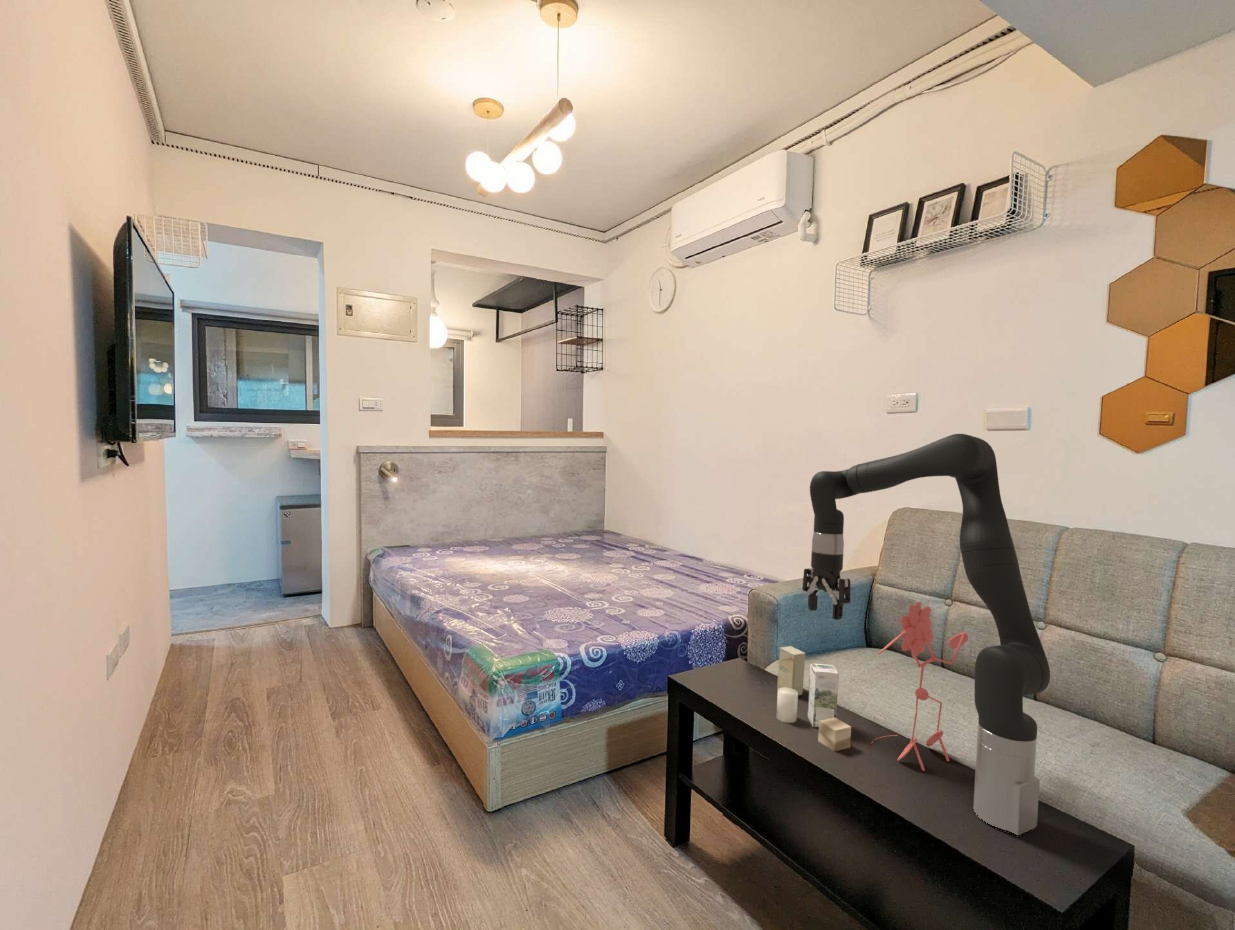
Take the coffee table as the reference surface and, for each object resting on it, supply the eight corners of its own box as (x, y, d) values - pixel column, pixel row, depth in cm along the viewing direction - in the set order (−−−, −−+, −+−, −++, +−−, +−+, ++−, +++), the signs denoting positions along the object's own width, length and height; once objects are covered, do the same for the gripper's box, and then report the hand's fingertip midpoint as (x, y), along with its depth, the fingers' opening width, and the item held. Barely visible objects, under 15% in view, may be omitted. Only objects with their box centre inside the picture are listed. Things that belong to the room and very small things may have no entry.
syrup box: (829, 719, 149) (832, 663, 148) (836, 730, 143) (839, 672, 142) (807, 717, 149) (809, 661, 149) (812, 728, 143) (815, 670, 143)
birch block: (850, 747, 135) (851, 726, 134) (834, 751, 132) (835, 730, 132) (833, 737, 139) (834, 717, 139) (818, 741, 137) (819, 720, 137)
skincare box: (776, 688, 167) (778, 647, 166) (788, 686, 169) (790, 645, 168) (791, 697, 161) (793, 654, 161) (803, 695, 163) (806, 652, 163)
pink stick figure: (974, 754, 133) (979, 604, 133) (903, 782, 121) (909, 616, 120) (912, 727, 147) (916, 590, 146) (843, 749, 134) (847, 599, 134)
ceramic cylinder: (800, 720, 147) (802, 693, 147) (785, 724, 145) (786, 696, 145) (787, 712, 152) (788, 686, 151) (772, 715, 149) (773, 688, 149)
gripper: (860, 555, 139) (857, 621, 140) (819, 545, 153) (816, 606, 153) (836, 556, 137) (833, 623, 137) (796, 546, 150) (793, 608, 150)
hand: (824, 614), depth 145 cm, fingers open, 8 cm apart
